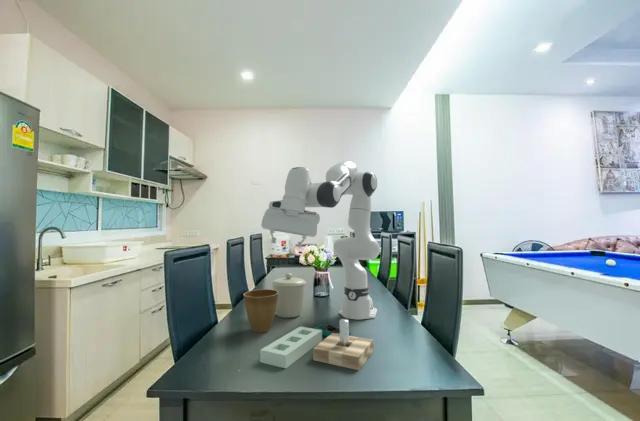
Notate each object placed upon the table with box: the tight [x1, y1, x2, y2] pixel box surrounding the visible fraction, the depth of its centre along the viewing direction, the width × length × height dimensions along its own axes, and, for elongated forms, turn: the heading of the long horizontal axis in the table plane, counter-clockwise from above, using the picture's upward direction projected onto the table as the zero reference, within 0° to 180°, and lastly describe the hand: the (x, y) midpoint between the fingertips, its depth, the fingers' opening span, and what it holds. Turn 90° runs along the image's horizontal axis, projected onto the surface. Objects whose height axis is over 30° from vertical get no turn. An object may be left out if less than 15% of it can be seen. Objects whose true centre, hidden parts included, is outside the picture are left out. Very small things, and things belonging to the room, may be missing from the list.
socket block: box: [312, 333, 375, 371], centre depth 105 cm, size 16×16×4 cm
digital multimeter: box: [314, 323, 352, 338], centre depth 125 cm, size 7×15×3 cm, turn 41°
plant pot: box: [243, 288, 278, 334], centre depth 131 cm, size 15×15×16 cm
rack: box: [259, 326, 323, 369], centre depth 109 cm, size 26×10×4 cm, turn 154°
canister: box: [270, 272, 307, 319], centre depth 153 cm, size 18×18×21 cm
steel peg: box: [339, 318, 350, 347], centre depth 105 cm, size 3×3×12 cm
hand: (286, 245), depth 108 cm, fingers open, 8 cm apart
